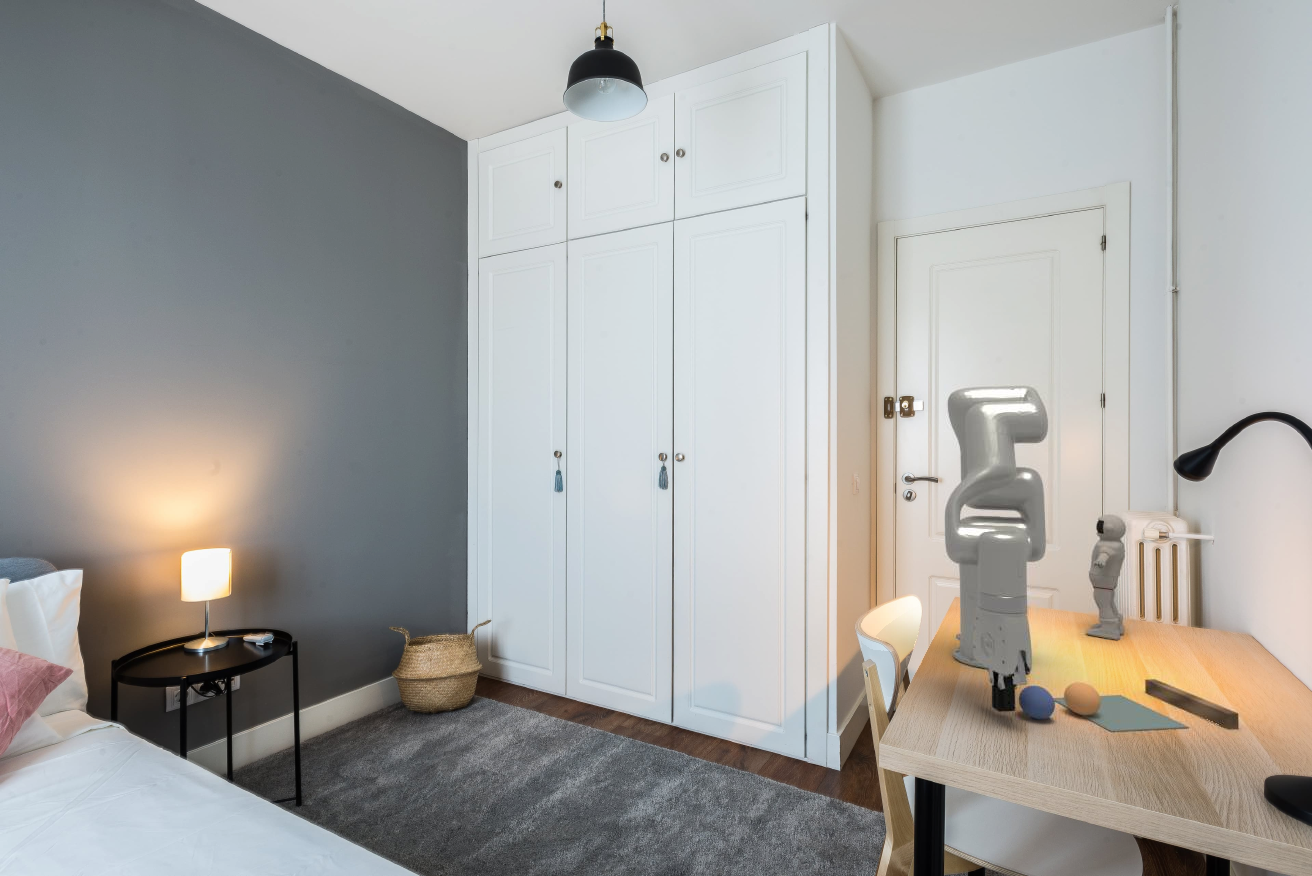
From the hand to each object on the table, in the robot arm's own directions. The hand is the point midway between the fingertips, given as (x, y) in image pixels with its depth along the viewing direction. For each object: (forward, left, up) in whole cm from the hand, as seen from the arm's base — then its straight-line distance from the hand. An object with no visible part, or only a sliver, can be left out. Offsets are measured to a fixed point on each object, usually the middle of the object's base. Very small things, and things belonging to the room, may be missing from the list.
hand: (1003, 709), depth 112 cm
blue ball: (+1, +6, +1) cm, 6 cm away
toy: (-44, +57, -2) cm, 72 cm away
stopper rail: (0, +35, -2) cm, 35 cm away
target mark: (0, +21, -2) cm, 21 cm away
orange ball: (0, +15, +1) cm, 15 cm away
